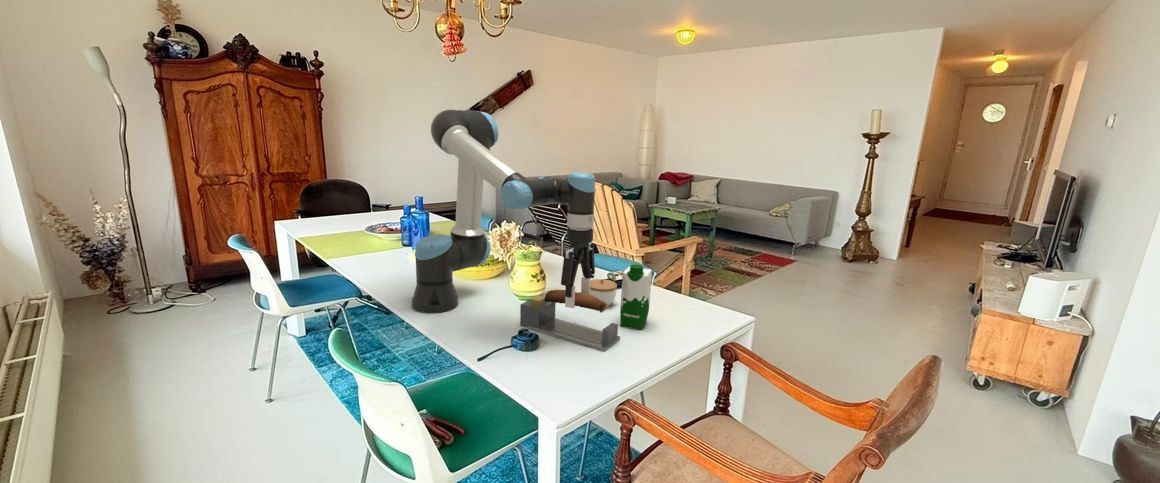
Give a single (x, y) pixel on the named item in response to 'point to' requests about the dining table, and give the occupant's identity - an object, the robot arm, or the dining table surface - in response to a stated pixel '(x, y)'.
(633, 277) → the milk carton
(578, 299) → the sunglasses case
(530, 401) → the dining table surface
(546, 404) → the dining table surface
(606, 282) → the lidded jar
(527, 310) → the motor mount
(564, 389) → the dining table surface
